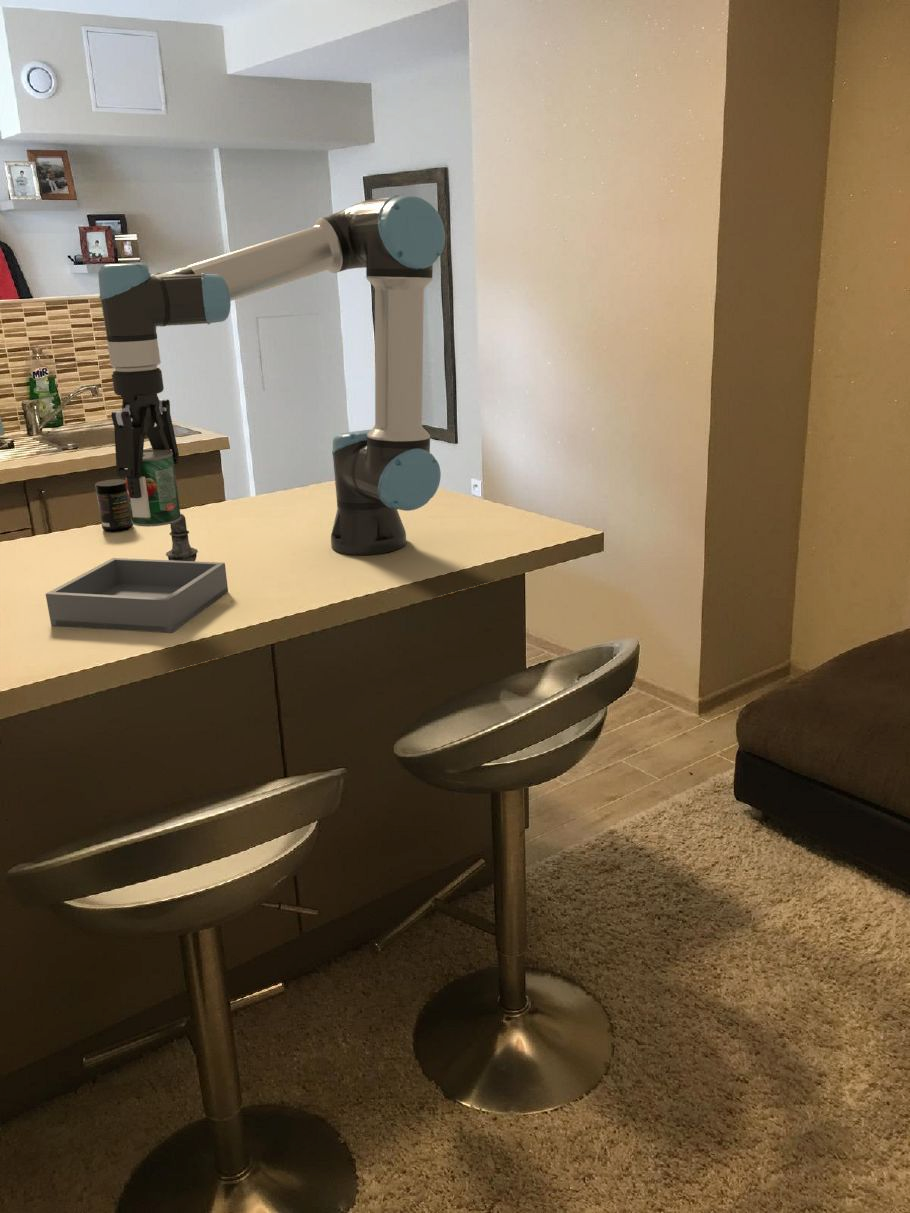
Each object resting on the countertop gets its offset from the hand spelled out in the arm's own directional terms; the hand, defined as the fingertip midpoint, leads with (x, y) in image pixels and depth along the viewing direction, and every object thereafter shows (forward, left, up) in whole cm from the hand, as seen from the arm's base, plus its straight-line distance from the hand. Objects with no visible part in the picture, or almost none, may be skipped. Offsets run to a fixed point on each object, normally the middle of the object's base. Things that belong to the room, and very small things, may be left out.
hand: (155, 510), depth 165 cm
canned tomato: (0, 0, -2) cm, 2 cm away
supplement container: (+38, -47, -18) cm, 63 cm away
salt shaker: (+8, -21, -18) cm, 29 cm away
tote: (+5, 0, -17) cm, 18 cm away
